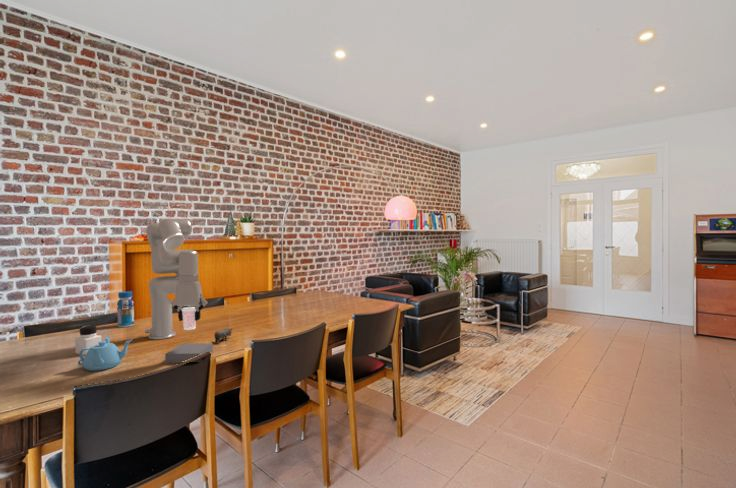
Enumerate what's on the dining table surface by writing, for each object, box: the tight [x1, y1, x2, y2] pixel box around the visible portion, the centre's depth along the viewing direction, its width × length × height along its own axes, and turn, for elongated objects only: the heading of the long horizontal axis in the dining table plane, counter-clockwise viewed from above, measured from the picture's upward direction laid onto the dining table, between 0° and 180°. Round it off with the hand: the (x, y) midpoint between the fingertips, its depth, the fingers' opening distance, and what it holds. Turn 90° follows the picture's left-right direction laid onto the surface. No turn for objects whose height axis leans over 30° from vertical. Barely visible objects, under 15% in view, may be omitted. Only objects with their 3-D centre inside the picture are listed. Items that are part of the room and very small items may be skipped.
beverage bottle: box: [116, 290, 135, 328], centre depth 215 cm, size 8×8×20 cm
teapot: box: [77, 335, 133, 372], centre depth 149 cm, size 15×15×10 cm
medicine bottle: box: [74, 324, 103, 356], centre depth 167 cm, size 7×7×12 cm
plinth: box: [164, 342, 214, 364], centre depth 159 cm, size 14×14×4 cm
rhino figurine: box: [214, 327, 233, 345], centre depth 185 cm, size 4×14×6 cm, turn 166°
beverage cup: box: [181, 306, 197, 331], centre depth 159 cm, size 6×6×14 cm
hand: (189, 319), depth 159 cm, fingers closed on beverage cup, 6 cm apart
